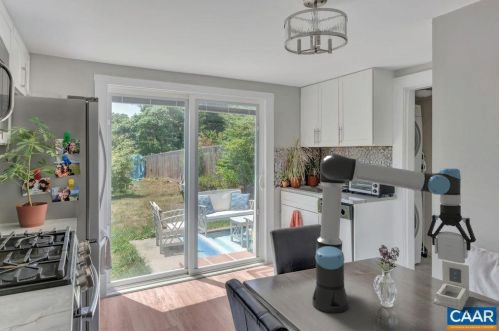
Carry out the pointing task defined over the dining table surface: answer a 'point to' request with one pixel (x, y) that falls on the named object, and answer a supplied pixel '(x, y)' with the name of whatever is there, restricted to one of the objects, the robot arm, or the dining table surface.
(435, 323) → the dining table surface
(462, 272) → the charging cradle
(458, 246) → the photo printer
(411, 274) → the dining table surface
